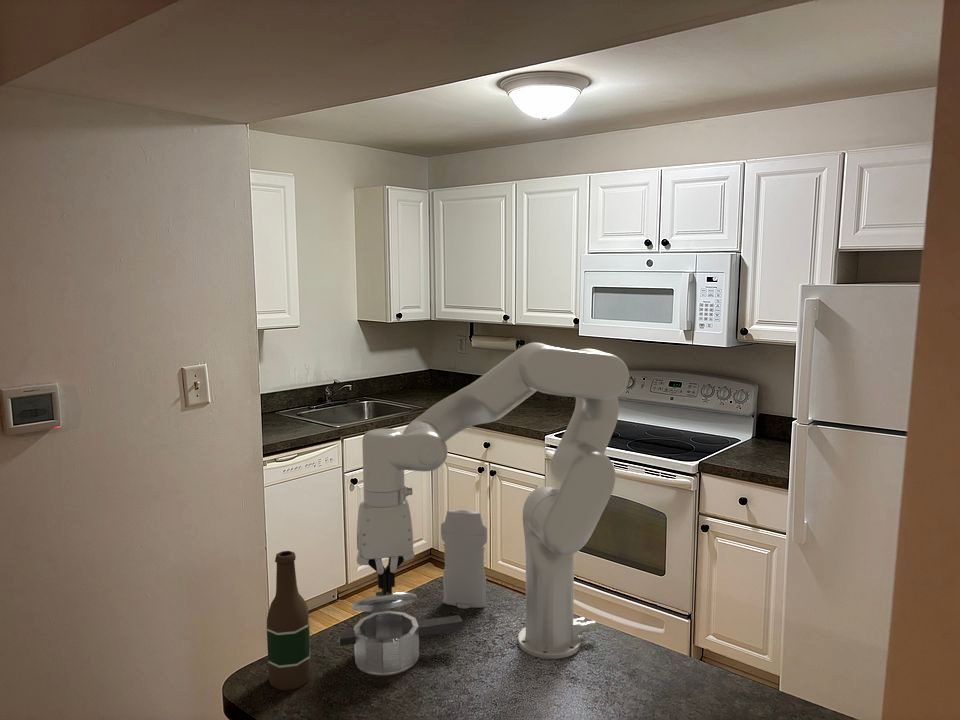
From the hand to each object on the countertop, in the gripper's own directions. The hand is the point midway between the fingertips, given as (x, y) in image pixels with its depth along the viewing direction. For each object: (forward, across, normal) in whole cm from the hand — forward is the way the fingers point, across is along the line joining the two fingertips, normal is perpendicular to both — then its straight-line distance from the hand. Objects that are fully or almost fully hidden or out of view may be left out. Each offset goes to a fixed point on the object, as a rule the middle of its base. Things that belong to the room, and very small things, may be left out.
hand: (386, 590), depth 130 cm
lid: (+4, 0, -3) cm, 5 cm away
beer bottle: (+15, +18, 0) cm, 23 cm away
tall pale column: (+15, -20, -19) cm, 31 cm away
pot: (+14, -3, -2) cm, 15 cm away
